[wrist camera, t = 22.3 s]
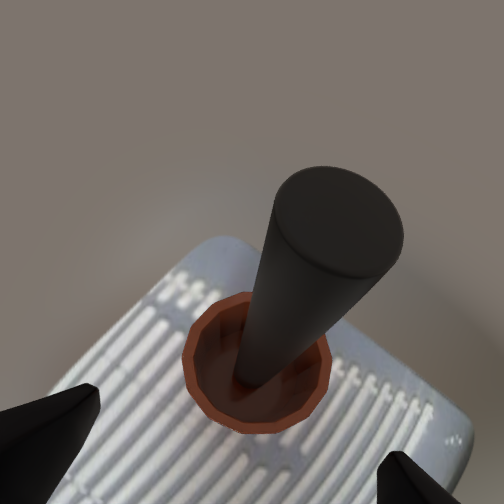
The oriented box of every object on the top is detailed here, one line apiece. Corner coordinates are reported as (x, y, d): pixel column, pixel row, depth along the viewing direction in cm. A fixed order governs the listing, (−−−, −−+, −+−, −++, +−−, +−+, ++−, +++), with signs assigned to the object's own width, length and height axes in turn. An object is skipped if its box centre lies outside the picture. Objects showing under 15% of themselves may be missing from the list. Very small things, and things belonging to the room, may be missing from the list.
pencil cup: (275, 446, 14) (297, 456, 10) (173, 396, 15) (154, 387, 11) (319, 352, 17) (351, 327, 13) (224, 307, 18) (225, 269, 14)
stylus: (256, 396, 15) (394, 301, 3) (227, 382, 15) (249, 233, 3) (270, 368, 16) (411, 198, 4) (241, 354, 16) (303, 147, 4)
